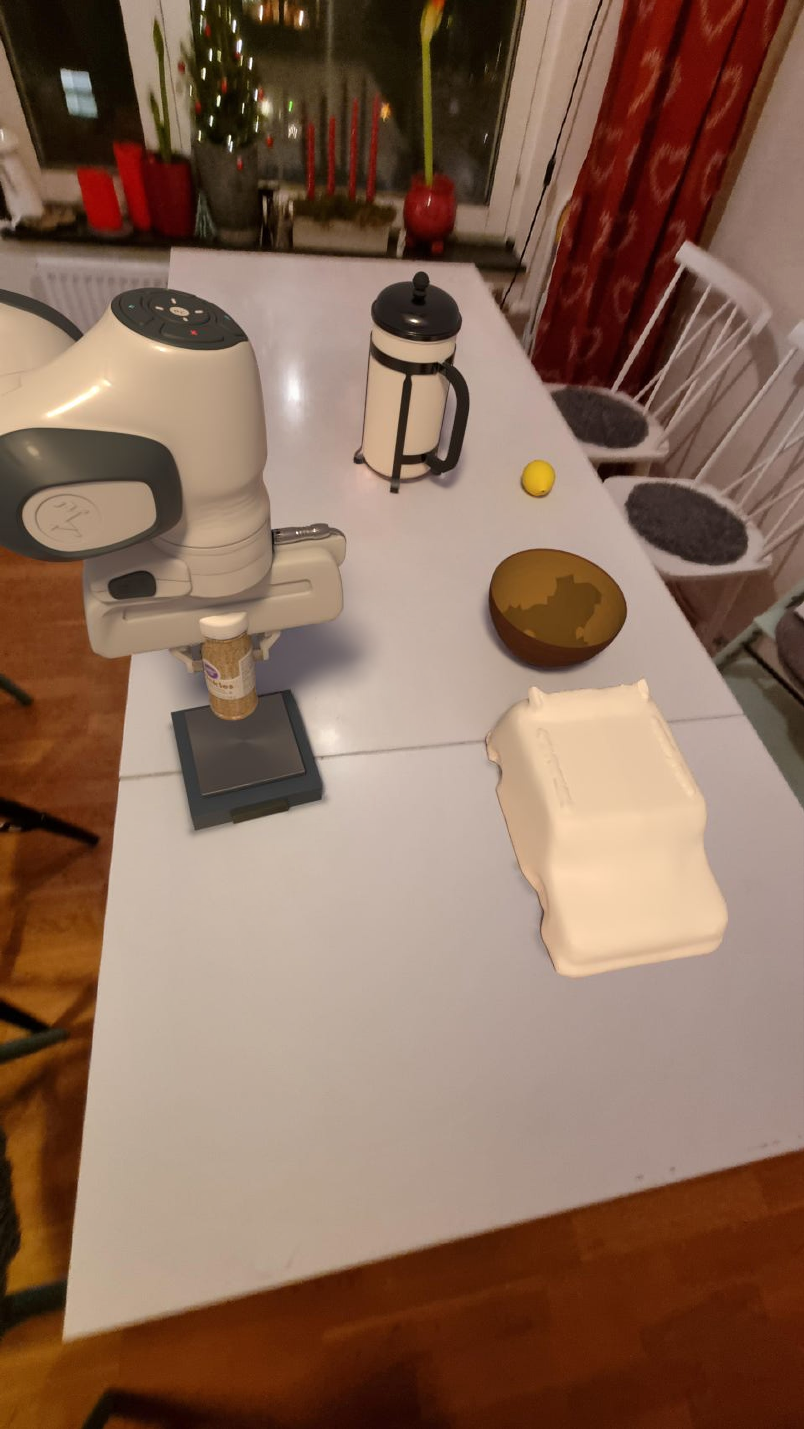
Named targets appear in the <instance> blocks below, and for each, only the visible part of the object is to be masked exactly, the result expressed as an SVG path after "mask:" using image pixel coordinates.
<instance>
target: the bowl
mask: <svg viewBox="0 0 804 1429" xmlns="http://www.w3.org/2000/svg"><path fill="white" fill-rule="evenodd" d="M627 605H628V604H627V601H626V598H625V595H624V592H623V591H622V589H621V587H620V586H619V584H618V583H617V581H615V579H614V578H613V577H612V576H611V575H610V574H609V573H608V572H607V571H606V570H605V569H603V567H600V566H599V565H598V564H596V563H594V562H593V561H591V560H589V559H588V558H586V557H583V556H581V555H578V554H576V553H572V552H569V551H565V550H563V549H562V550H561V549H555V548H530V549H525V550H521V551H520V550H519V552H515V553H513V554H510V555H509V556H507V557H505V558H504V559H503V560H502V561H501V562H500V563H499V564H498V565H497V566H496V568H495V569H494V572H493V574H492V576H491V579H490V583H489V589H488V610H489V614H490V619H491V622H492V624H493V627H494V629H495V631H496V634H497V635H498V638H499V639H500V640H501V642H502V643H503V644H504V646H505V647H506V648H507V649H508V650H509V651H510V652H511V653H512V654H513V655H515V656H516V657H517V658H519V659H520V660H522V661H524V662H526V663H528V664H531V665H533V666H537V667H541V668H547V669H548V668H549V669H550V668H555V669H556V668H565V667H570V666H574V665H578V664H581V663H584V662H586V661H588V660H590V659H593V658H594V657H596V656H598V655H599V654H601V652H603V651H604V650H605V649H607V648H608V647H609V646H610V645H611V644H612V643H613V642H614V641H615V639H616V638H617V637H618V636H619V634H620V632H621V631H622V629H623V627H624V625H625V623H626V621H627V617H628V606H627Z"/></svg>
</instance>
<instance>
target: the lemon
mask: <svg viewBox="0 0 804 1429" xmlns="http://www.w3.org/2000/svg"><path fill="white" fill-rule="evenodd" d="M521 477H522V478H521V479H522V485H523V487H524V489H525V491H526V492H528V493H529V494H530V495H532V496H536V497H539V496H545V495H546V494H547V493H549V492H550V491H551V490H552V488H553V487H554V485H555V481H556V472H555V469H554V467H553V466H552V465H551V464H550V463H549V462H547V461H545V460H542V459H535V460H531V461H530V462H529V463H527V465H526V466H524V468H523V471H522V475H521Z"/></svg>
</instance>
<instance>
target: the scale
mask: <svg viewBox="0 0 804 1429" xmlns="http://www.w3.org/2000/svg"><path fill="white" fill-rule="evenodd" d="M279 693H281V694H282V698H283V701H284V704H285V707H286V711H287V714H288V717H289V720H290V723H291V727H292V730H293V733H294V736H295V740H296V743H297V746H298V749H299V753H300V756H301V759H302V762H303V766H304V769H305V774H304V775H300V776H296V777H291V778H287V779H283V780H279V781H274V782H270V783H266V784H261V785H257V786H253V787H249V788H244V789H240V790H236V791H232V792H227V793H223V794H219V795H214V796H210V797H206V798H202V794H201V789H200V784H199V780H198V775H197V770H196V765H195V760H194V756H193V751H192V746H191V741H190V737H189V732H188V727H187V722H186V718H185V712H188V711H193V710H198V709H203V708H208V707H210V704H206V705H200V706H196V707H190V708H186V709H181V710H176V711H170V718H171V722H172V726H173V731H174V737H175V742H176V747H177V753H178V757H179V761H180V767H181V774H182V778H183V783H184V788H185V793H186V798H187V804H188V809H189V814H190V818H191V822H192V825H193V829H194V831H200V830H204V829H208V828H212V827H216V826H220V825H224V824H228V823H232V824H233V825H235V824H239V823H244V822H247V821H251V820H254V819H255V820H256V819H259V818H262V817H263V818H264V817H267V816H272V815H275V814H279V813H283V812H287V811H288V810H289V808H294V807H297V806H300V805H305V804H308V803H313V802H317V801H321V800H322V796H323V785H322V781H321V779H320V776H319V772H318V770H317V766H316V762H315V760H314V757H313V754H312V751H311V747H310V744H309V741H308V738H307V735H306V732H305V728H304V726H303V723H302V720H301V716H300V713H299V710H298V707H297V703H296V700H295V698H294V694H293V691H292V688H287V689H282V690H276V691H272V692H267V693H262V694H257V696H258V698H259V697H264V696H269V695H274V694H279Z"/></svg>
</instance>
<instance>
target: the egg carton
mask: <svg viewBox="0 0 804 1429" xmlns="http://www.w3.org/2000/svg"><path fill="white" fill-rule="evenodd" d="M527 696H528V698H526V699H522V700H521V701H519V702H517V703H515V704H513V705H512V706H511V707H509V708H508V709H507V711H506V712H505V713H504V715H503V716H502V718H501V719H500V721H499V722H498V723H497V724H496V726H495V727H494V729H492V730H491V731H490V732H488V733H487V735H486V737H485V743H486V750H487V757H488V760H490V761H492V762H494V763H496V764H497V765H498V766H499V767H500V769H501V771H502V773H501V774H502V776H501V779H500V781H499V783H498V784H497V786H496V793H497V796H498V800H499V803H500V808H501V810H502V812H503V816H504V817H505V821H506V825H507V828H508V832H509V836H510V839H511V842H512V845H513V849H514V852H515V855H516V857H517V858H516V859H517V861H518V865H519V867H520V871H521V872H522V874H523V876H524V877H525V879H526V880H527V881H528V882H529V884H530V885H531V886H532V887H533V888H534V889H535V892H536V893H537V895H538V899H539V903H540V905H541V907H542V909H543V918H542V922H541V926H540V927H541V928H540V933H541V938H542V941H543V943H544V945H545V947H546V949H547V951H548V954H549V956H550V959H551V961H552V964H553V967H554V970H555V972H556V973H557V974H558V975H560V976H563V977H567V978H574V979H577V978H579V979H580V978H583V977H588V976H593V975H599V974H603V973H607V972H612V971H617V970H623V969H626V968H632V967H638V966H643V965H650V964H656V963H663V962H667V961H673V960H678V959H685V958H690V957H697V956H702V955H703V956H704V955H707V954H710V953H712V952H714V951H716V950H717V949H718V948H719V947H720V946H721V944H722V942H723V939H724V933H725V931H726V929H727V927H728V923H729V910H728V905H727V903H726V899H725V898H724V896H723V893H722V890H721V889H720V886H719V884H718V882H717V880H716V877H715V875H714V874H713V871H712V868H711V865H710V863H709V860H708V857H707V854H706V850H705V849H706V848H705V842H704V841H705V839H704V838H705V831H706V827H707V821H708V809H707V801H706V798H705V795H704V793H703V791H702V789H701V788H700V787H699V785H698V782H697V781H696V779H695V776H694V774H693V771H692V770H691V768H690V767H689V765H688V762H687V760H686V759H685V756H684V755H683V753H682V751H681V748H680V746H679V744H678V742H677V739H676V738H675V736H674V733H673V730H672V729H671V726H670V725H669V723H668V721H667V720H666V718H665V716H664V714H663V712H662V710H661V709H660V708H659V705H658V704H657V702H656V701H655V699H654V698H653V696H652V695H651V694H650V690H649V687H648V684H647V681H646V678H645V677H644V676H643V675H642V676H640V677H639V678H638V679H637V681H636V682H633V683H630V684H623V683H621V684H619V685H613V686H606V687H599V688H598V687H597V688H593V687H586V688H579V689H578V688H577V689H571V690H565V689H564V690H560V691H556V692H555V691H554V692H545V691H542V690H540V689H539V688H538V686H530V687H528V691H527Z"/></svg>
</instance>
